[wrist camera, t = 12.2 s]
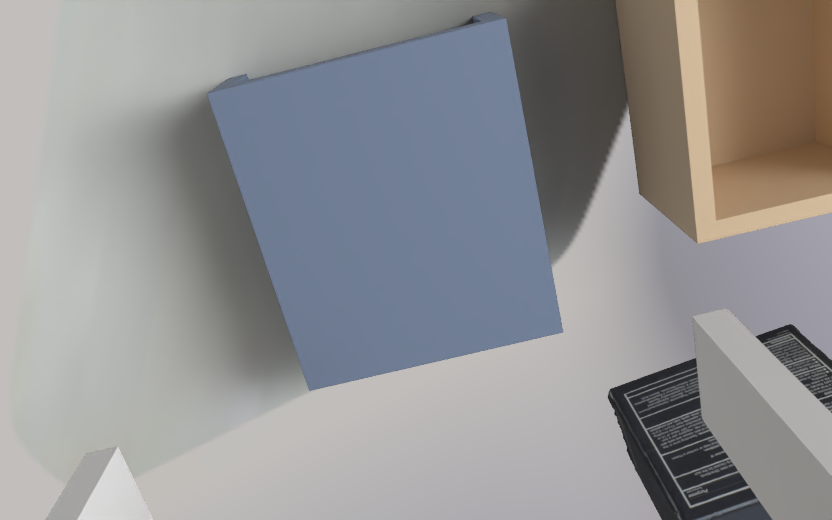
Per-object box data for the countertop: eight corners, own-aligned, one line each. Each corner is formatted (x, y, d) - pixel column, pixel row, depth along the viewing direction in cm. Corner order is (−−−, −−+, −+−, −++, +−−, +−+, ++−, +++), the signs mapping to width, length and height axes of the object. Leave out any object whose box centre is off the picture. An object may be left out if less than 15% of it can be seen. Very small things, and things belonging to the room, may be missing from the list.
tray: (606, -69, 31) (666, -81, 24) (817, -124, 30) (935, -150, 24) (639, 193, 35) (697, 243, 29) (823, 149, 35) (925, 190, 28)
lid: (229, 77, 32) (206, 93, 28) (489, 11, 32) (506, 18, 28) (317, 343, 38) (309, 390, 33) (542, 290, 37) (563, 332, 33)
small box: (635, 476, 42) (712, 630, 32) (603, 387, 39) (676, 524, 29) (814, 414, 40) (951, 554, 31) (793, 319, 38) (934, 437, 28)
